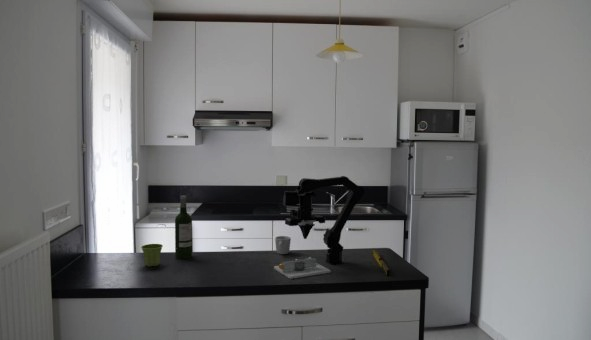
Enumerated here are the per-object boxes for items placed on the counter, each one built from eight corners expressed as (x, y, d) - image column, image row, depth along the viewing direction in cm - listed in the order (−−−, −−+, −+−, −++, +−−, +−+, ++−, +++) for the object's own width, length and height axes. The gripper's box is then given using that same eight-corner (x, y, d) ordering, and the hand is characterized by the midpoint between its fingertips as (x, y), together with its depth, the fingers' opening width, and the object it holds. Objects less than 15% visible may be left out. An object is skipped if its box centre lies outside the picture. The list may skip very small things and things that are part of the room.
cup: (287, 257, 209) (287, 241, 209) (271, 256, 211) (272, 240, 210) (291, 251, 220) (292, 236, 219) (277, 250, 221) (277, 235, 221)
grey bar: (317, 268, 188) (317, 260, 187) (281, 272, 181) (281, 264, 180) (312, 265, 192) (312, 257, 192) (276, 269, 185) (276, 261, 185)
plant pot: (136, 266, 191) (136, 247, 191) (151, 260, 200) (150, 242, 199) (153, 268, 188) (153, 249, 187) (167, 263, 197) (167, 244, 196)
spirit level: (372, 255, 216) (372, 249, 216) (375, 255, 216) (375, 249, 216) (386, 276, 183) (386, 269, 183) (389, 276, 183) (390, 269, 183)
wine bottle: (183, 259, 202) (182, 197, 200) (171, 257, 207) (171, 196, 204) (195, 256, 209) (195, 195, 207) (184, 253, 213) (183, 194, 211)
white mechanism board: (311, 262, 201) (311, 254, 201) (330, 272, 186) (330, 264, 186) (273, 268, 191) (273, 259, 191) (290, 279, 177) (290, 270, 177)
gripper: (314, 202, 208) (313, 233, 209) (279, 204, 199) (279, 237, 200) (326, 205, 198) (325, 238, 199) (290, 208, 189) (290, 242, 190)
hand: (305, 238), depth 198 cm, fingers closed
